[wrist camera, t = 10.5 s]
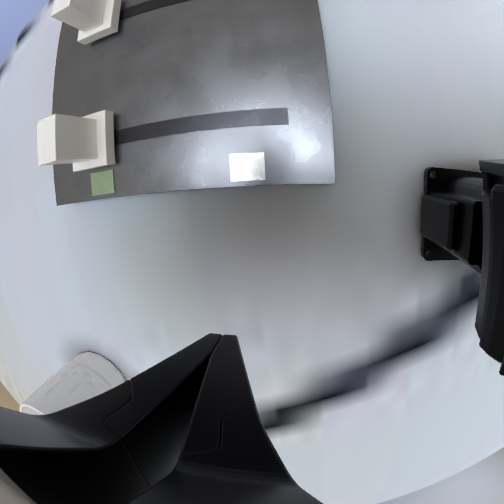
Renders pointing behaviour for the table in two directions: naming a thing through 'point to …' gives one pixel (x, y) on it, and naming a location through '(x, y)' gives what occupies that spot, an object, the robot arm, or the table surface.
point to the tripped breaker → (76, 140)
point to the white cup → (74, 384)
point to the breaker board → (200, 97)
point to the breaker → (89, 17)
